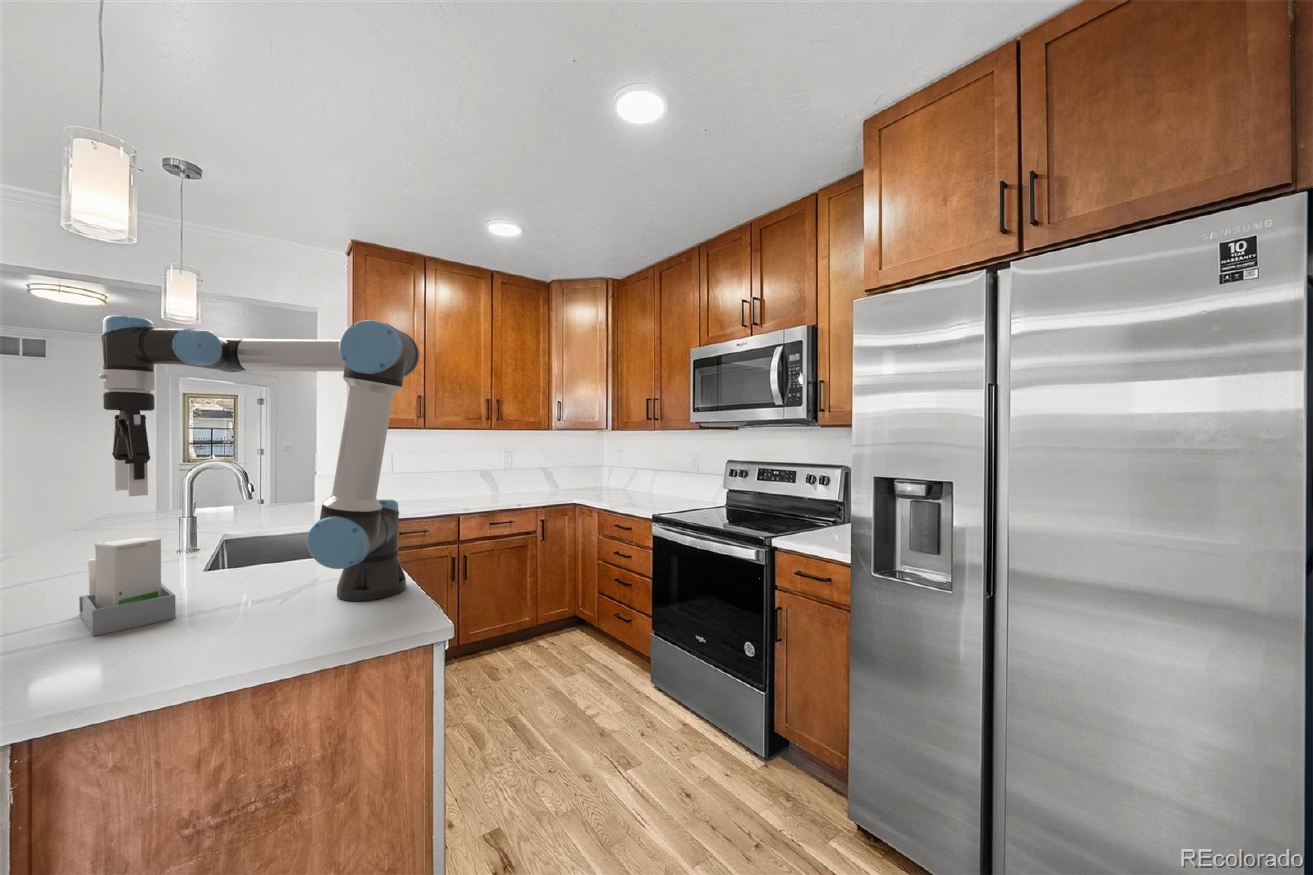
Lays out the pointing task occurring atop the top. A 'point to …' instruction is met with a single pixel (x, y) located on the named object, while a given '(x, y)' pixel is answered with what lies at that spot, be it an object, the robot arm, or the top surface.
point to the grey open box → (123, 609)
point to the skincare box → (127, 571)
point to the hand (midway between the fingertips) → (131, 492)
